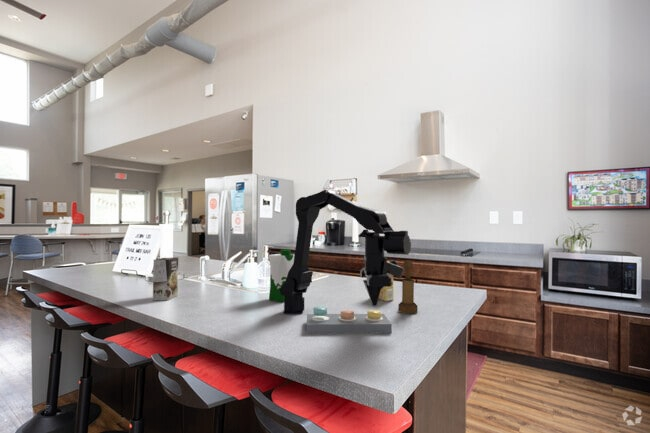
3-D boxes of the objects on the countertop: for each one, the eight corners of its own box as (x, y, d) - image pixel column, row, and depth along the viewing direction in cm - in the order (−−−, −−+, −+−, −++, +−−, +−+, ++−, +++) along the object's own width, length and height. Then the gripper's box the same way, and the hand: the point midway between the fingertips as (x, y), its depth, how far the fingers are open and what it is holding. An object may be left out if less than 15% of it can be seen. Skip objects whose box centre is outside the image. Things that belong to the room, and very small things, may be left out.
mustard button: (368, 319, 101) (368, 313, 101) (366, 315, 105) (366, 310, 105) (382, 319, 101) (382, 313, 101) (379, 315, 105) (379, 310, 105)
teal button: (313, 315, 101) (313, 310, 101) (313, 312, 105) (313, 306, 105) (327, 315, 101) (327, 310, 101) (326, 312, 105) (326, 306, 105)
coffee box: (168, 300, 136) (168, 259, 136) (152, 300, 136) (152, 259, 136) (178, 295, 145) (179, 257, 145) (163, 295, 145) (163, 257, 145)
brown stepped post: (414, 314, 117) (414, 261, 117) (395, 312, 120) (395, 260, 121) (419, 310, 123) (419, 259, 123) (402, 308, 126) (402, 258, 126)
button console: (306, 333, 97) (306, 323, 97) (307, 322, 108) (307, 313, 108) (391, 333, 98) (391, 323, 98) (383, 321, 109) (383, 313, 109)
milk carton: (282, 303, 133) (282, 250, 133) (265, 299, 138) (265, 249, 138) (297, 299, 140) (297, 249, 140) (280, 296, 145) (280, 248, 146)
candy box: (394, 300, 139) (394, 261, 139) (386, 301, 136) (386, 262, 137) (379, 296, 146) (379, 259, 146) (371, 297, 144) (371, 260, 144)
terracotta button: (341, 319, 101) (341, 313, 101) (340, 315, 105) (340, 310, 105) (354, 319, 101) (354, 313, 101) (353, 315, 105) (353, 310, 105)
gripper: (410, 256, 94) (410, 313, 94) (394, 250, 113) (394, 298, 113) (369, 256, 94) (369, 313, 94) (360, 250, 113) (360, 298, 112)
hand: (374, 305), depth 103 cm, fingers closed
